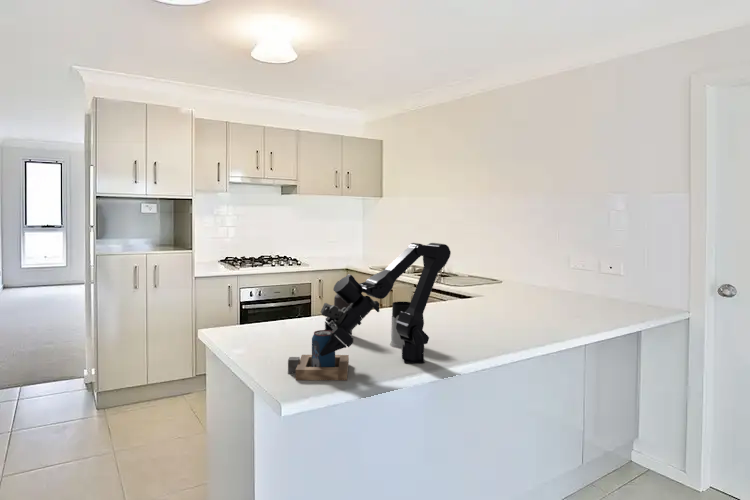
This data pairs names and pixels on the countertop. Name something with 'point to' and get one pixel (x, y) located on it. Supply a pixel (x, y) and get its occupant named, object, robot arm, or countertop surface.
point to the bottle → (340, 303)
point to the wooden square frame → (318, 368)
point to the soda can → (318, 344)
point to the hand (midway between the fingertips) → (318, 350)
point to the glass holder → (396, 309)
